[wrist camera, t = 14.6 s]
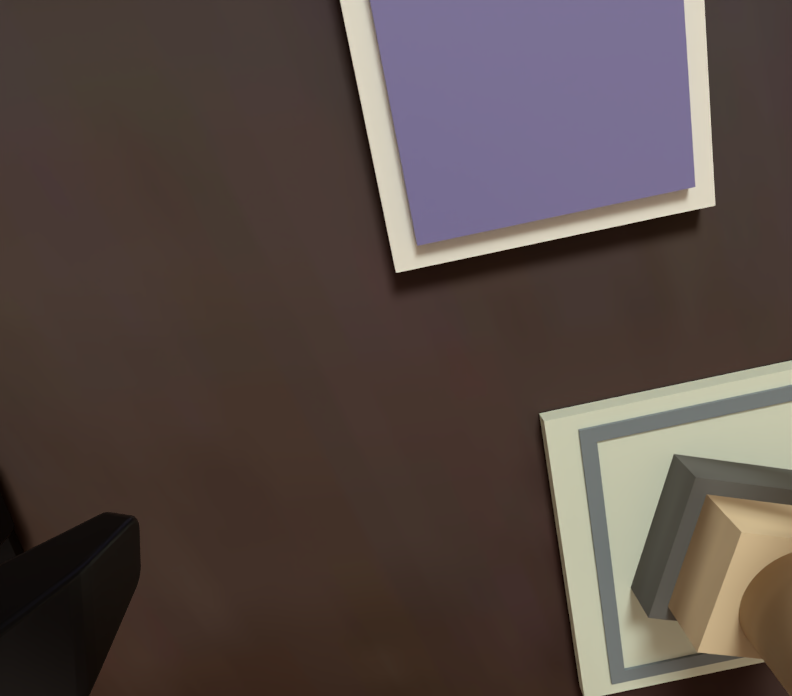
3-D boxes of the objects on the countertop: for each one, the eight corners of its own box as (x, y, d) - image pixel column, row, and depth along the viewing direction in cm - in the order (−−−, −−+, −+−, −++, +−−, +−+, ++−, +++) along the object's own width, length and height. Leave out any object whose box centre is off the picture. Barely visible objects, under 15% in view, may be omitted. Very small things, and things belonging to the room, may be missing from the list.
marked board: (579, 686, 26) (585, 701, 25) (539, 413, 22) (545, 422, 22) (905, 618, 26) (920, 631, 25) (917, 334, 22) (934, 341, 22)
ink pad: (394, 267, 21) (397, 276, 19) (322, -85, 18) (320, -98, 17) (701, 201, 20) (722, 207, 19) (679, -161, 18) (702, -180, 16)
